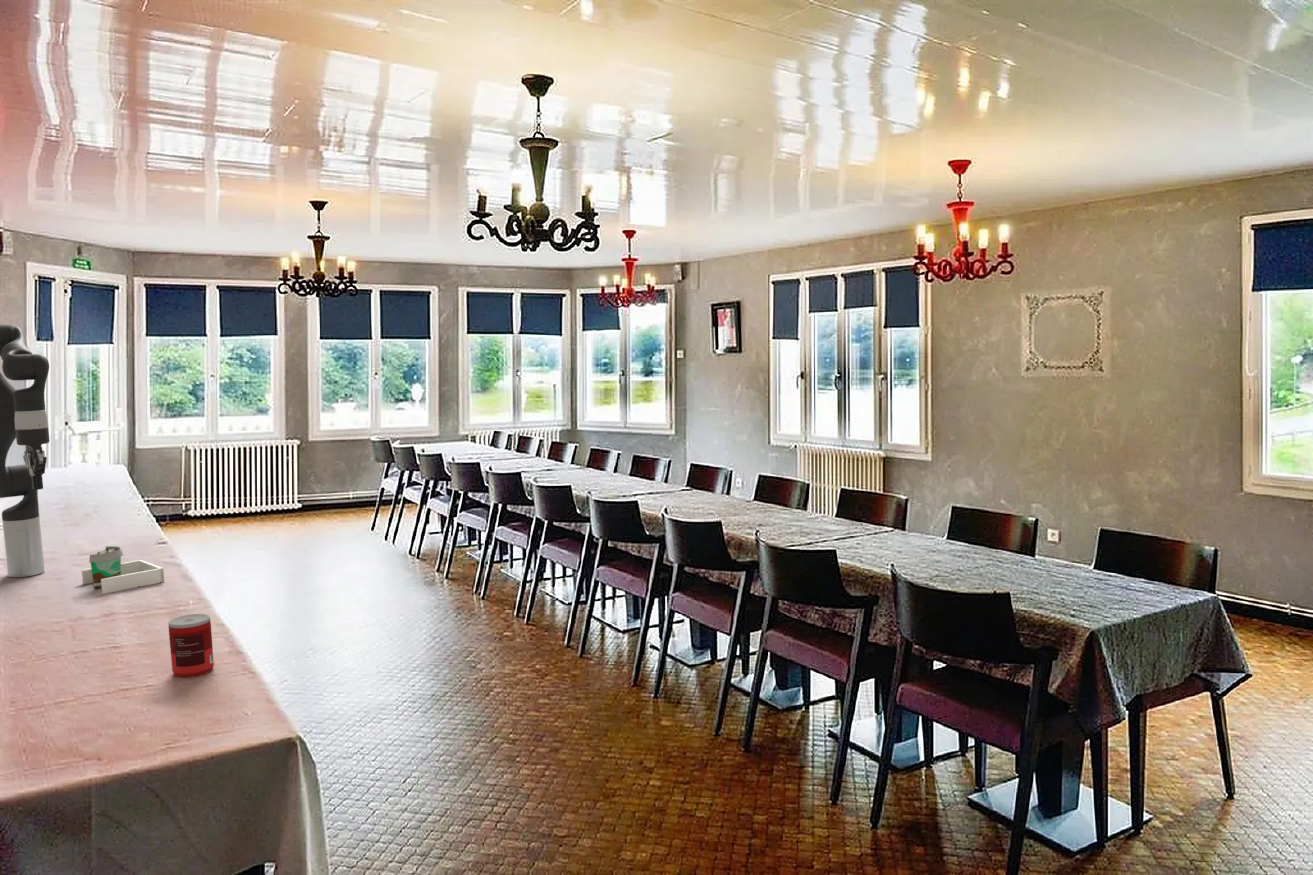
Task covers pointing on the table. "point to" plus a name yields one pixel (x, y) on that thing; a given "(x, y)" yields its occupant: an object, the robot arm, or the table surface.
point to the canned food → (191, 645)
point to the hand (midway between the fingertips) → (37, 489)
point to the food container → (106, 564)
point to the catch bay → (128, 576)
